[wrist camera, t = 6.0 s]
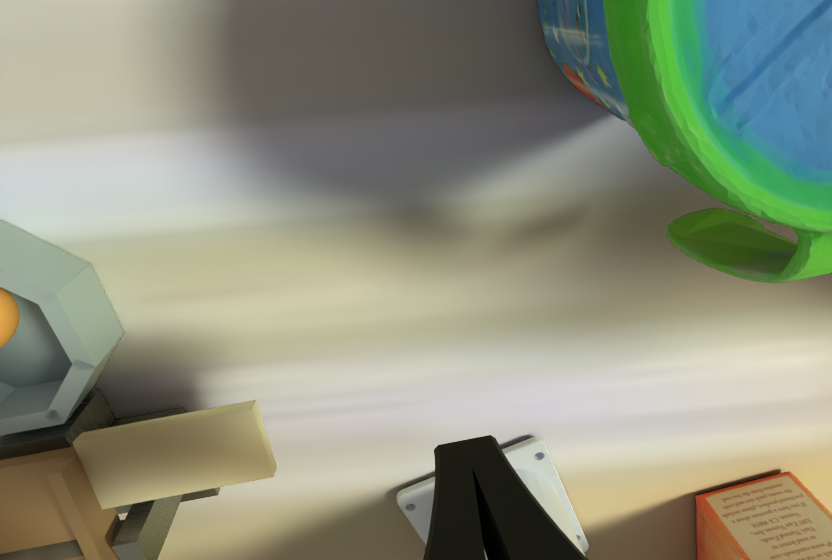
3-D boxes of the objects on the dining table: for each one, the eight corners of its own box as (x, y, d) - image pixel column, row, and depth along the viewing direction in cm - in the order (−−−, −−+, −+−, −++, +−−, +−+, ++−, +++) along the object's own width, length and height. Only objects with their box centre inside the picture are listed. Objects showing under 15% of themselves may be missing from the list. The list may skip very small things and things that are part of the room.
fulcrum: (220, 486, 24) (186, 593, 19) (31, 522, 24) (-49, 639, 19) (169, 376, 21) (114, 471, 16) (-48, 417, 21) (-165, 524, 16)
